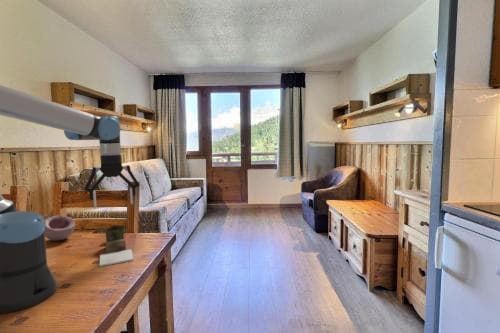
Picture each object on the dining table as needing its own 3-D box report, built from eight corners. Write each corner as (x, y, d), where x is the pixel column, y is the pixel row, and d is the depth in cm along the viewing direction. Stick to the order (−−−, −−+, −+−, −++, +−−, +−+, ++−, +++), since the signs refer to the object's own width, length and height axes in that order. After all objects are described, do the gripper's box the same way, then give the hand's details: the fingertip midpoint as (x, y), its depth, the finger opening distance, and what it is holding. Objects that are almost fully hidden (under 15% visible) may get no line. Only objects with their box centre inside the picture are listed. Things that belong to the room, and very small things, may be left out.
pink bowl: (53, 246, 113) (51, 219, 112) (37, 242, 118) (35, 216, 117) (81, 237, 124) (80, 213, 123) (65, 233, 129) (64, 210, 128)
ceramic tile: (133, 260, 100) (133, 258, 99) (99, 266, 94) (99, 265, 94) (131, 250, 108) (131, 249, 108) (100, 256, 103) (100, 254, 103)
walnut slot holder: (123, 239, 122) (123, 230, 121) (125, 249, 109) (125, 240, 109) (106, 241, 118) (105, 232, 118) (106, 253, 106) (105, 243, 106)
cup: (118, 241, 119) (117, 223, 118) (129, 244, 115) (128, 226, 114) (101, 247, 112) (100, 228, 112) (112, 250, 109) (111, 231, 108)
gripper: (142, 153, 119) (144, 200, 121) (75, 155, 108) (79, 207, 110) (144, 153, 113) (147, 203, 115) (73, 156, 101) (77, 211, 103)
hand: (114, 205), depth 112 cm, fingers open, 13 cm apart
